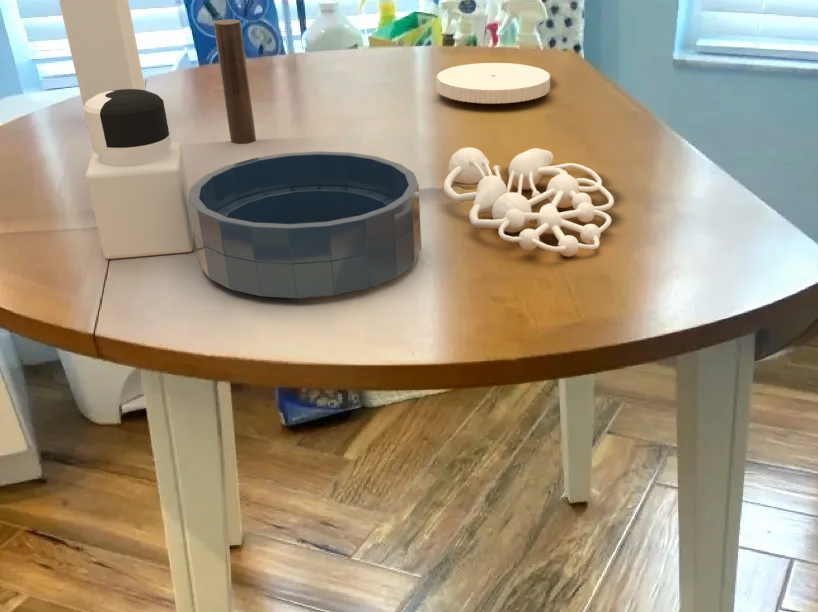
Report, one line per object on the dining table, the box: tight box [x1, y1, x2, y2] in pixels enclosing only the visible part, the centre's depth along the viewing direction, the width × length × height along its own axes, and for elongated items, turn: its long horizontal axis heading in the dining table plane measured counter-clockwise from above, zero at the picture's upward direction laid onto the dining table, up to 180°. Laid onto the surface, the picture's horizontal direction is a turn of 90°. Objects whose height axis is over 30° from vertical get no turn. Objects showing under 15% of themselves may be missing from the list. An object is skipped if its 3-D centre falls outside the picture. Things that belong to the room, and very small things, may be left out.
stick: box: [213, 18, 257, 145], centre depth 97 cm, size 4×4×13 cm
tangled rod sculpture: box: [443, 146, 615, 258], centre depth 84 cm, size 19×14×4 cm
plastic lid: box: [436, 62, 551, 105], centre depth 119 cm, size 14×14×2 cm
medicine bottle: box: [83, 89, 195, 260], centre depth 78 cm, size 7×7×12 cm
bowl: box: [189, 150, 422, 299], centre depth 76 cm, size 18×18×6 cm
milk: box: [58, 0, 146, 108], centre depth 107 cm, size 6×6×22 cm
